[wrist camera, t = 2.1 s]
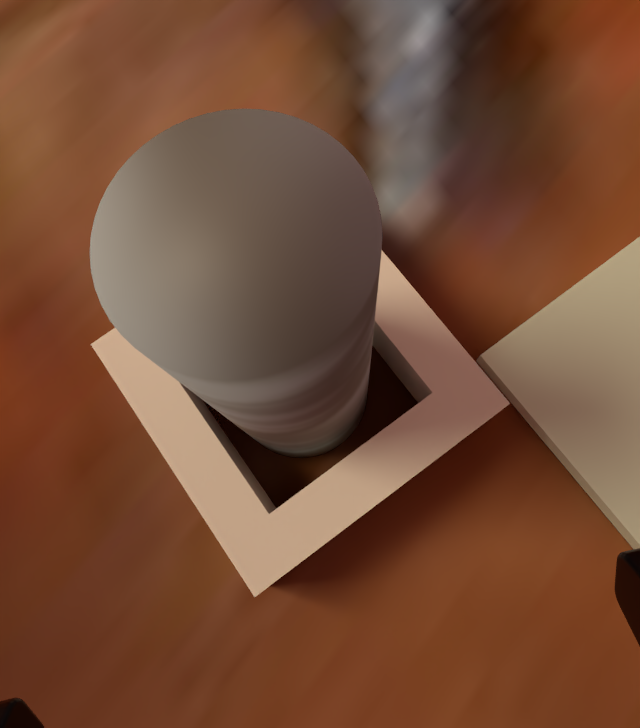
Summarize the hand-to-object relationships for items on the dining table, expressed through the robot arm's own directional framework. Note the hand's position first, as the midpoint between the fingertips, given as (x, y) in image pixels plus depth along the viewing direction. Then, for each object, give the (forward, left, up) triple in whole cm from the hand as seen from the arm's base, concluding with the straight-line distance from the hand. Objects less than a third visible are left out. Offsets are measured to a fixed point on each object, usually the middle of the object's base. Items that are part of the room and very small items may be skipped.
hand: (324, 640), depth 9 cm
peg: (+3, +6, -13) cm, 14 cm away
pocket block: (+3, +6, -13) cm, 14 cm away
